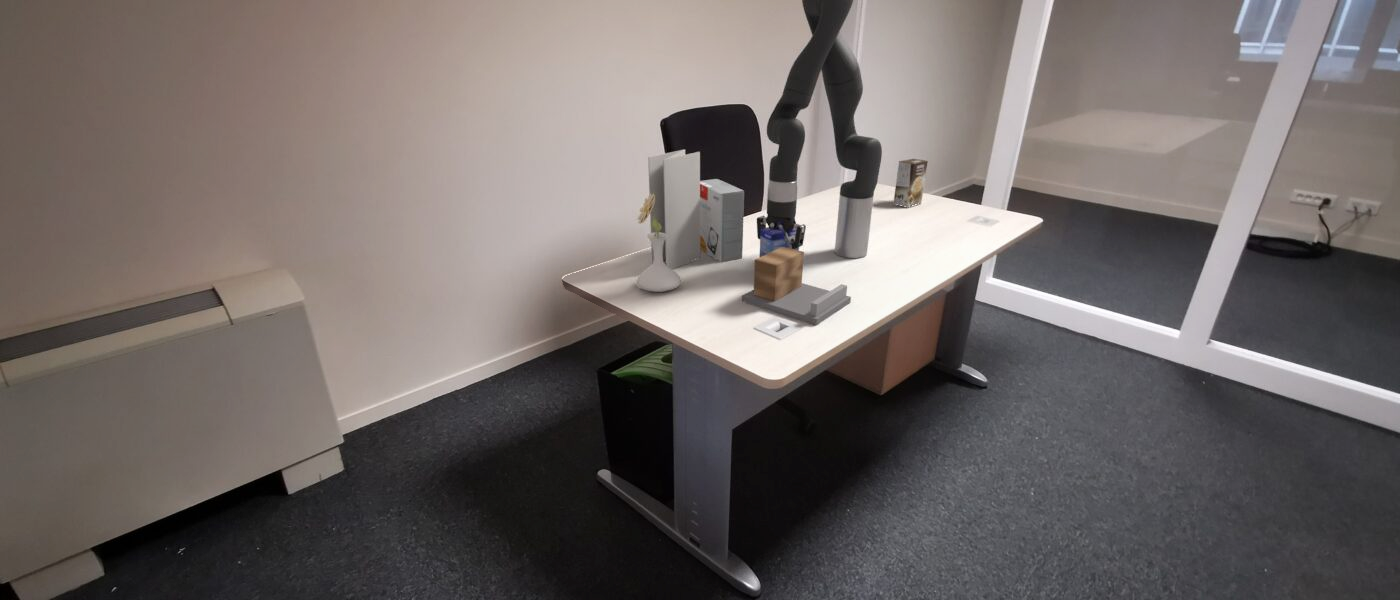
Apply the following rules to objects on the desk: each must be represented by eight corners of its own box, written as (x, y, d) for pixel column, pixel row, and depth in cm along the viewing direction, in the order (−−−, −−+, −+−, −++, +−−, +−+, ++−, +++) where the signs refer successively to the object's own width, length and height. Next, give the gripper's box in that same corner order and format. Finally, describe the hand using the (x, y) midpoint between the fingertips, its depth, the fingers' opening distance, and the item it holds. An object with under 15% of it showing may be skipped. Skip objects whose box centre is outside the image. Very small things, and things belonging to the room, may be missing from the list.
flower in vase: (642, 277, 164) (639, 183, 154) (685, 280, 162) (684, 185, 152) (629, 297, 152) (624, 197, 142) (675, 300, 150) (673, 199, 140)
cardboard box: (781, 280, 158) (782, 246, 154) (801, 286, 154) (803, 251, 151) (753, 294, 149) (754, 259, 146) (774, 301, 146) (776, 265, 142)
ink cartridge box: (770, 278, 163) (772, 225, 157) (757, 272, 167) (758, 220, 162) (799, 270, 168) (802, 218, 162) (786, 265, 172) (788, 214, 166)
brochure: (685, 253, 181) (684, 149, 169) (700, 257, 178) (700, 151, 166) (651, 267, 171) (648, 157, 159) (666, 271, 168) (664, 160, 156)
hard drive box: (695, 246, 187) (694, 181, 179) (717, 243, 190) (718, 178, 182) (720, 263, 174) (721, 192, 166) (743, 258, 177) (745, 189, 169)
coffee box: (907, 208, 225) (913, 164, 219) (892, 204, 230) (898, 161, 223) (921, 204, 230) (928, 160, 224) (906, 200, 235) (912, 157, 228)
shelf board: (778, 281, 161) (779, 265, 159) (850, 302, 149) (852, 285, 147) (741, 301, 150) (742, 284, 148) (816, 325, 138) (818, 306, 136)
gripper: (814, 198, 158) (809, 260, 165) (767, 189, 166) (764, 249, 173) (798, 204, 153) (794, 268, 159) (750, 195, 161) (748, 256, 168)
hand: (778, 258), depth 166 cm, fingers closed on ink cartridge box, 6 cm apart
